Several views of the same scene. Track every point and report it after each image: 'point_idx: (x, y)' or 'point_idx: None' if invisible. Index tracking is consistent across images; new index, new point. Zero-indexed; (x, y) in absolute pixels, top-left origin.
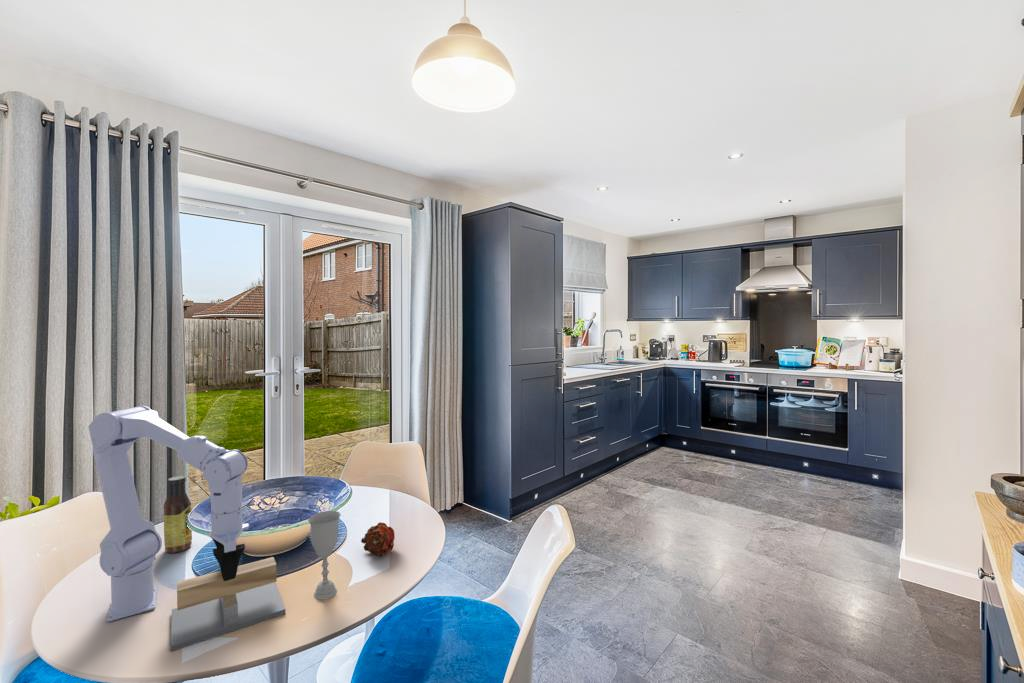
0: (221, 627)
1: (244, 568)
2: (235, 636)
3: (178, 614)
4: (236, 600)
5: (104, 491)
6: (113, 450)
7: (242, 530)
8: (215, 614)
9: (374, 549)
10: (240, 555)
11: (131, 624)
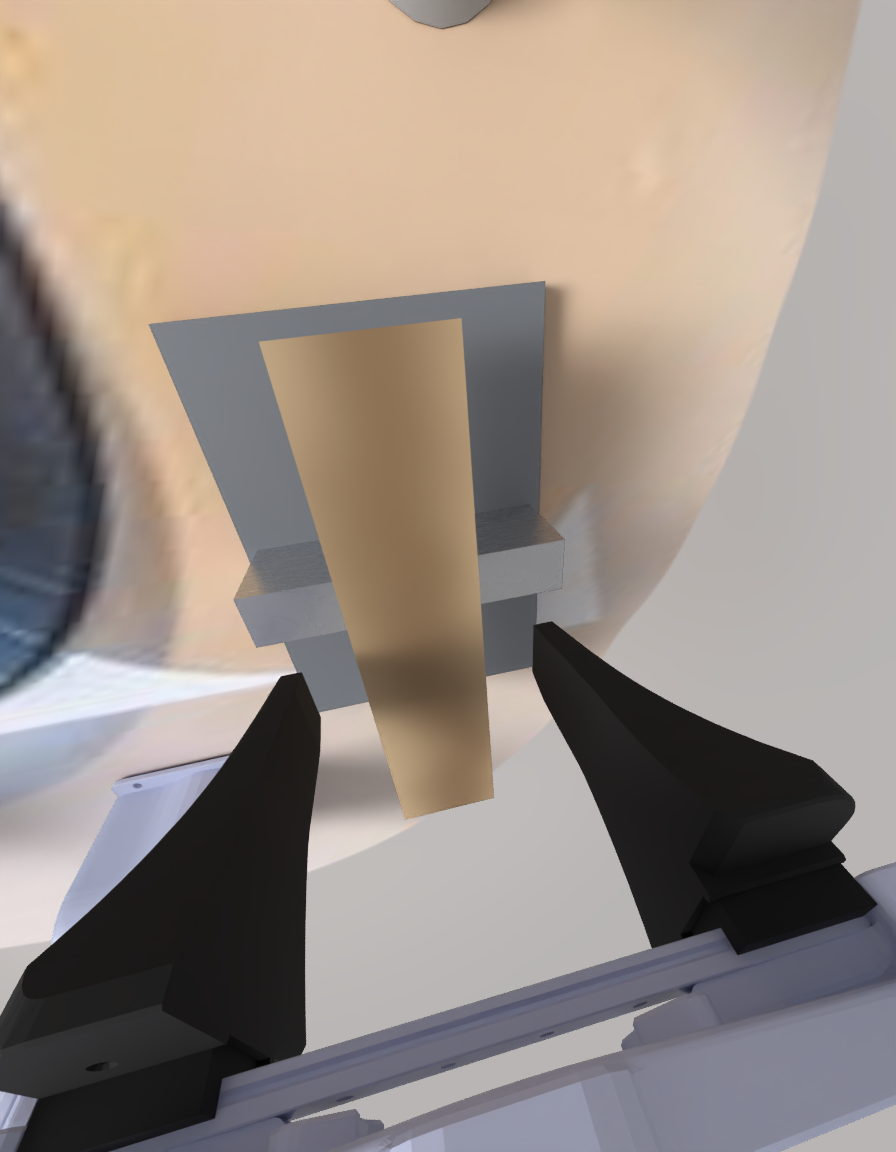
0: None
1: (406, 582)
2: (571, 501)
3: (359, 689)
4: (528, 548)
5: None
6: None
7: (669, 1100)
8: None
9: None
10: (732, 734)
11: (333, 765)
